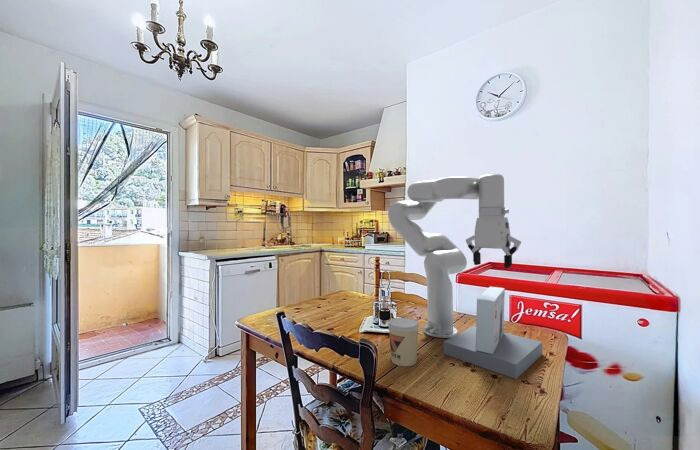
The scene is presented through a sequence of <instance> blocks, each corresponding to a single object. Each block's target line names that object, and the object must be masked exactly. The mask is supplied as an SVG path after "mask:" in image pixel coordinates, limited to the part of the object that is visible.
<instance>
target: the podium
mask: <svg viewBox="0 0 700 450" xmlns="http://www.w3.org/2000/svg"><path fill="white" fill-rule="evenodd" d="M442 343H443V355H446V356H448V357H451V358H454V359H458V360H461V361H463V362H466V363H469V364H472V365H475V366H477V367H480V368H484V369H485V370H489V371H492V372H495V373H497V374H501V375H504V376H506V377H510V378H512V379H515V380H517V379H518V378H519V377H520V376H521V375H522V374H523V373H525V372H526V371H527V370H528V368H530V367H531V366H532V365H533V364H534V363H535V362H536V361H537V360H538V359H539V358H540V357H541V356H542V355H543V341H540V340H536V339H531V338H528V337H523V336H520V335H515V334H512V333H507V332H504V333H503V335H502V337H501V339H500V341H499V343H498V345H497V347H496V349H495V351H494V353H493V354H490V353H485V352H481V351H476V350H475V347H476V324H475V325H473V326H471V327H469V328H467V329H465V330H464V331H462V332H460V333H459V332H458V334H457V335H455V336H453V337H451V338H447V339H446V340H444V341H442Z"/></svg>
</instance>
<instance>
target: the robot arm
mask: <svg viewBox="0 0 700 450" xmlns="http://www.w3.org/2000/svg"><path fill="white" fill-rule="evenodd" d="M406 191H407V192H406V193H407V196H408V198H409V200H401V201H396V202H393V203H392V204H390V206H389V208H388V211H387V216H388V220H389V223H390V225H391V226H392V228H393V229H394V230H395V232H396V233H398V234H399V235H400V237H402V238H403V240H404V241H405V242H406V243H407V244H408V245H409V247H410V248H411V249H412V250H413V252H415V254H416V255H418V256H419V257H424V260H423V266H424V272H425V276H426V294H427V295H426V296H427V298H426V299H427V300H426V301H427V304H426V305H427V321H426V325H425V326H423V327H421V332H422V333H423V334H424V333H425V334H426V335H427V336H430V337H433V338H437V339H438V338H439V339H449V338H451V337H453V336H455V335H457V334H459V332H458V329H457V328H456V327H454V293H453V290H454V289H453V283H452V280H451V279H450V276H449V275H454V274H459V273H462V272H463V271H465V269H466V268H467V260H468V259H467V258H466V256H465V254H464V253H463V251H462V250H461V249H460V248H459V247H458V246H457V245H456V244H455V243H454V242H452V240H451V239H450V238H448V237H447V236H446V235H445V234H442V233H439V232H434V233H430V232H426V231H425V230H424V229H423V228H421V226H420V225H418V224H417V223H415V222H414V221H420V220H422V219H424V218H426V216H427V215H428V214H429V213H430V212H431V210H432V209H433V208H434V206H435V205H436V204H437V203H438V202H443V201H444V200H478V217H477V218H476V222H475V227H474V235H472V236H470V237H468V238H466V239H465V243H466V245H467V247H468V249H469V250H470V251H471V253H472V256H473V258H472V262H473V265H474V266H478V265H482V264H481V263H482V261H481V259H482V257H481V256H482V255H481V252H480V251H481V250H482V248H483V249H496V250H497V249H498V250H502V251H503V252H504V254H505V255H504V256H503V265H504V267H503V268H504V269H509V268H511V267H512V265H513V255H514V254H515V253H516V251H518V250H519V248H520V246H521V244H522V241H521V240H519V239H517V238H515V237H513V236H512V235H511V230H510V222H509V219H508V216H507V217H506V214H509V213H510V209H509V208H506V206H505V178H504V175H502V174H499V173H494V174H493V173H492V174H484V175H480V177H473V176H471V177H470V176H463V175H462V176H460V175H459V176H458V175H457V176H448V177H440V178H438V179H431V180H423V181H416V182H413V183H411V184H410V185H409V186H408V188H407V190H406ZM473 241H474V243H473ZM512 243H513V246H512V245H511V244H512ZM511 246H512V247H511Z"/></svg>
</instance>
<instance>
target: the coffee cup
mask: <svg viewBox="0 0 700 450" xmlns="http://www.w3.org/2000/svg"><path fill="white" fill-rule="evenodd" d="M419 326H420V325H419V323H418V321H417V320H415V319H412V318H407V317H396V318H392V319H390V320H389V321H388V335H389V336H388V337H389V347H390V357H391V361H392V363H393V364H395V365H397V366H400V367H411V366H414V365H415V364H417V360H418V357H417V356H418V344H419V343H418V341H419Z"/></svg>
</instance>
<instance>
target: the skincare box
mask: <svg viewBox="0 0 700 450" xmlns="http://www.w3.org/2000/svg"><path fill="white" fill-rule="evenodd" d="M505 292H506V288H504V287H499V286H489V287H488V288H486V290H485V291H483V292H482V293H481V294H480V295H479V296H478V297H477V298H476V316H475V317H476V319H475V320H476V322H475V323H476V324H475V325H476V347H475V350H476V351H481V352H485V353H490V354H493V353H494V351H495V349H496V347H497V345H498V343H499V341H500V339H501V337H502V335H503V333H505V332H504V329H505V325H504V324H505V294H506V293H505Z"/></svg>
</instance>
